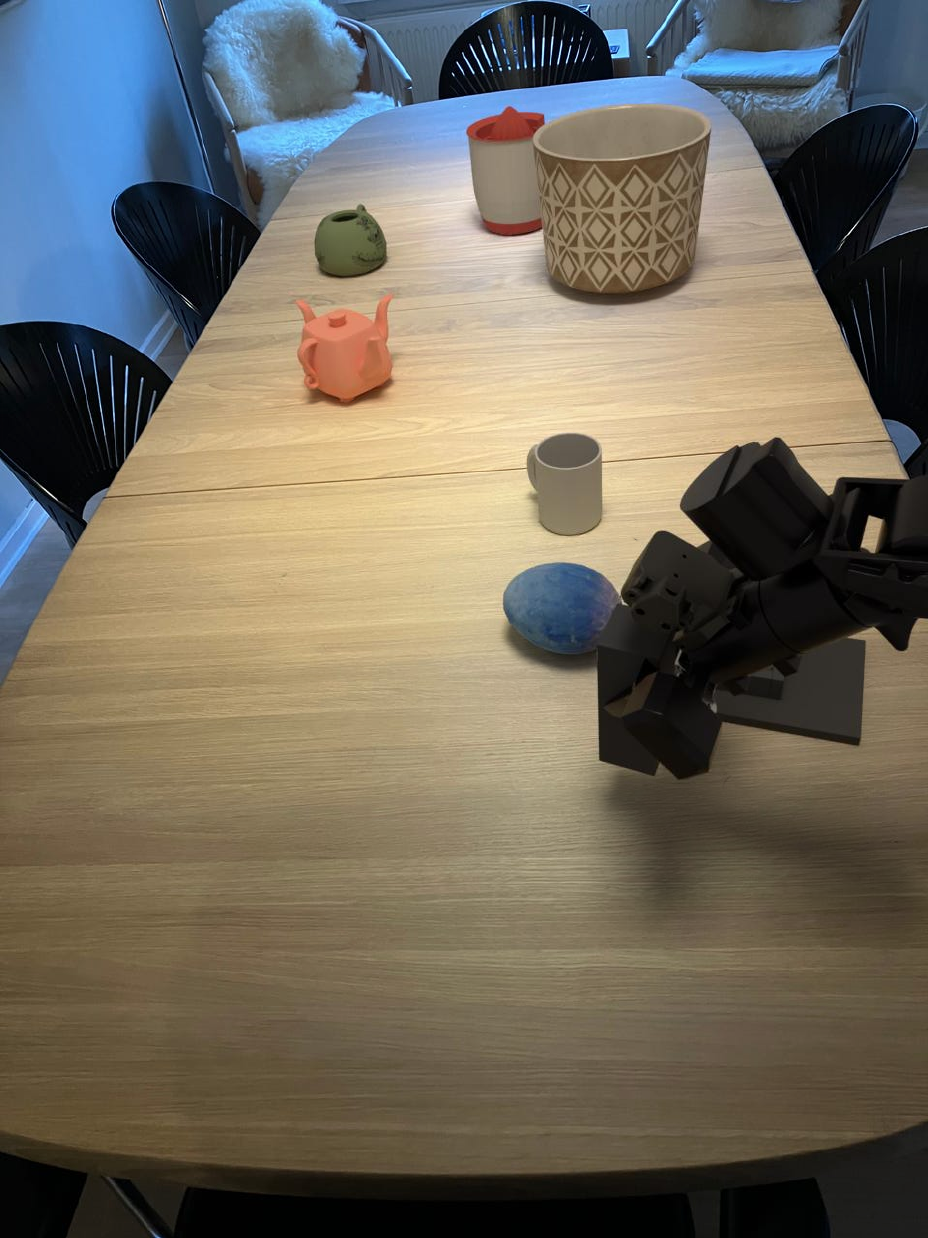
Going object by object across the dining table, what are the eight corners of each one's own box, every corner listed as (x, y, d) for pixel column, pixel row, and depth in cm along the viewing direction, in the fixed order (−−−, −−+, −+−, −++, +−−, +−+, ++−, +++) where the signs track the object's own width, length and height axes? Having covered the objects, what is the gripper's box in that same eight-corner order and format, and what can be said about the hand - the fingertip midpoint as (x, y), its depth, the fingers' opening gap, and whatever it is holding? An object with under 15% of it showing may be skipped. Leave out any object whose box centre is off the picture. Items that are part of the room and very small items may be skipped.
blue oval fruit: (646, 595, 80) (490, 564, 86) (634, 686, 83) (484, 650, 89) (672, 570, 87) (527, 543, 93) (661, 654, 90) (521, 623, 96)
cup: (572, 544, 102) (569, 477, 96) (509, 509, 108) (503, 444, 102) (615, 514, 105) (615, 447, 99) (552, 482, 111) (549, 417, 105)
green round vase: (376, 280, 160) (367, 229, 154) (307, 280, 164) (296, 230, 158) (403, 243, 171) (396, 194, 165) (338, 243, 175) (329, 196, 169)
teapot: (311, 364, 140) (295, 294, 132) (404, 358, 138) (392, 287, 131) (293, 414, 129) (274, 341, 122) (393, 408, 128) (379, 334, 120)
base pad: (864, 647, 86) (871, 620, 84) (858, 745, 78) (866, 718, 76) (649, 616, 92) (650, 589, 90) (624, 703, 84) (625, 677, 82)
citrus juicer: (580, 227, 168) (578, 105, 154) (489, 247, 165) (478, 126, 152) (550, 200, 179) (546, 85, 165) (465, 219, 177) (453, 103, 163)
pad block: (670, 734, 74) (678, 616, 65) (654, 777, 71) (660, 659, 62) (616, 719, 76) (617, 602, 67) (598, 761, 73) (596, 644, 64)
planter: (645, 230, 163) (648, 92, 148) (734, 280, 145) (749, 128, 130) (513, 269, 157) (503, 129, 142) (589, 326, 139) (587, 173, 124)
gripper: (740, 440, 62) (587, 539, 74) (659, 622, 50) (493, 706, 62) (844, 553, 64) (680, 632, 76) (791, 753, 52) (606, 809, 64)
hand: (619, 687), depth 69 cm, fingers closed on pad block, 4 cm apart
